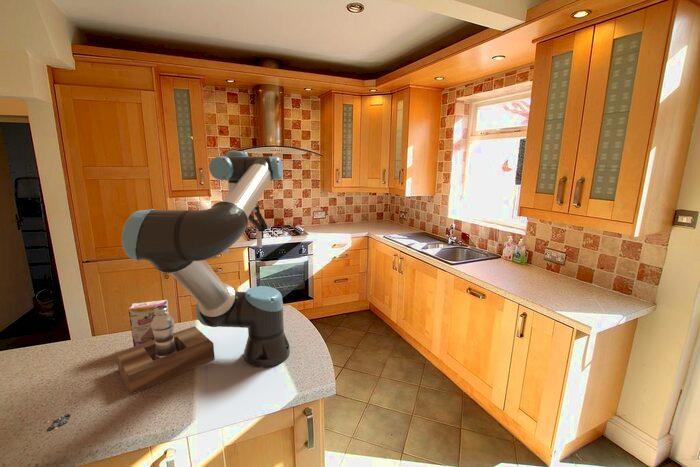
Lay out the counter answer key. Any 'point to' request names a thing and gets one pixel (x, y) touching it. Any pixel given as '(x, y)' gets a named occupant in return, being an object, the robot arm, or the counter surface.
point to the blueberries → (59, 422)
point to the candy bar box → (143, 320)
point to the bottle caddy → (163, 359)
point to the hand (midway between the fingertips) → (243, 250)
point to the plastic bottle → (163, 332)
